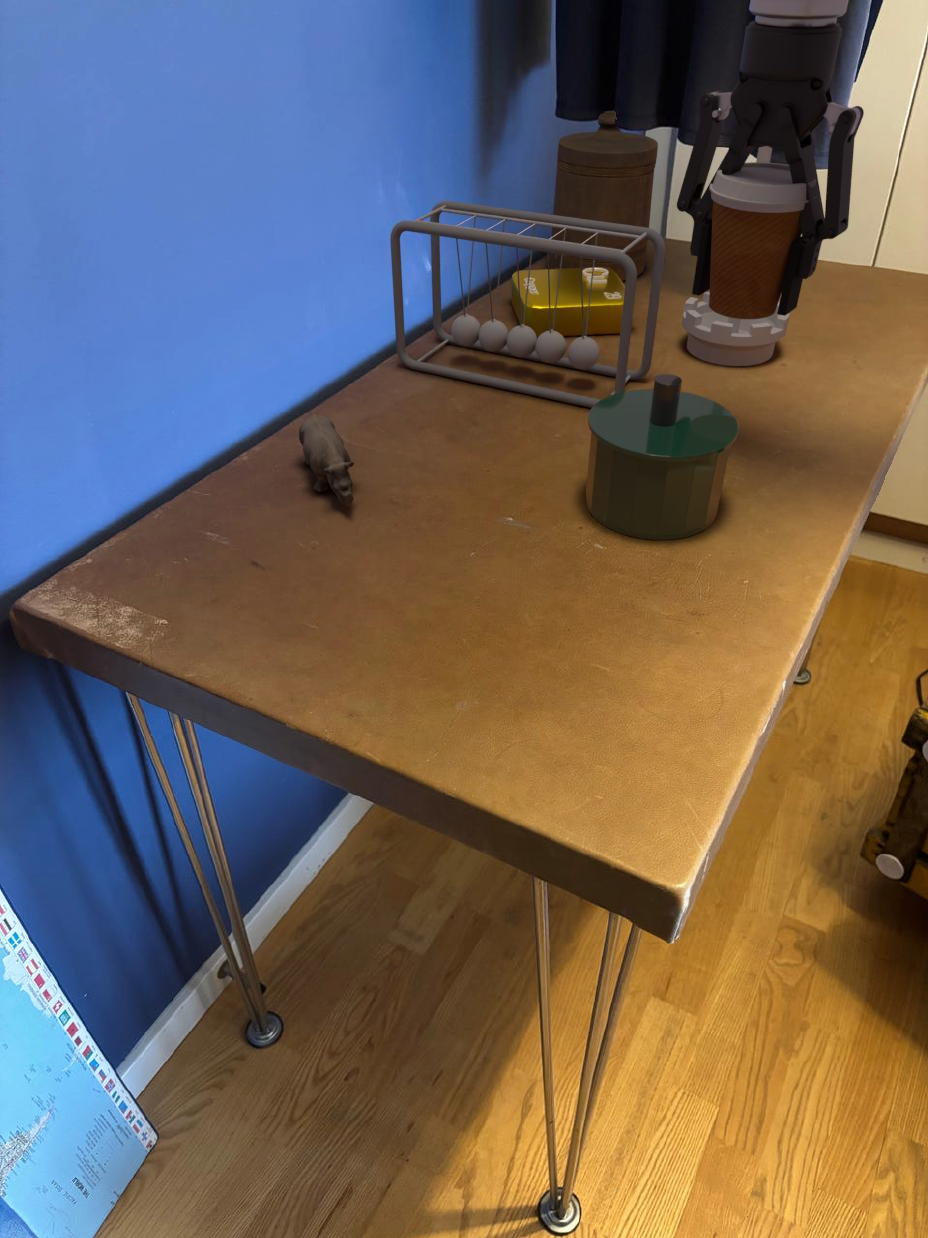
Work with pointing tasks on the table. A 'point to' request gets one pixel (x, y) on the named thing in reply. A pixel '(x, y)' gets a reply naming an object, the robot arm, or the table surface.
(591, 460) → the pot
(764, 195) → the disposable coffee cup
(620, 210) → the wooden container
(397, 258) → the newton's cradle
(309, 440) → the rhino figurine
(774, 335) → the flag stand
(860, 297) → the table surface
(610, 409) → the pot lid
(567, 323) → the element tile
